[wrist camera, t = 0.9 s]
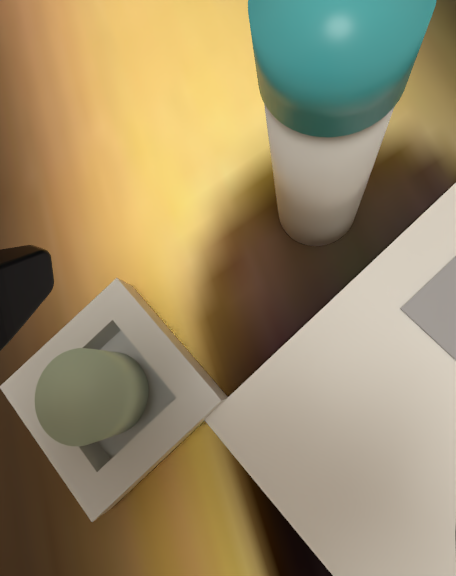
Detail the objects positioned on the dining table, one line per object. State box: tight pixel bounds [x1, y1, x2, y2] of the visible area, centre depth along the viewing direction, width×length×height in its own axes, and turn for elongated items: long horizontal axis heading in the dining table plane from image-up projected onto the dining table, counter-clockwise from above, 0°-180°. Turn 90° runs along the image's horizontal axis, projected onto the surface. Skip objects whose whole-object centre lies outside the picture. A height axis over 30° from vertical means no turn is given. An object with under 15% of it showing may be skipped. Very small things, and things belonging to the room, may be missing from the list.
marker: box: [248, 0, 436, 246], centre depth 16 cm, size 4×4×13 cm
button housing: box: [0, 278, 228, 522], centre depth 21 cm, size 8×8×2 cm
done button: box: [35, 348, 149, 446], centre depth 19 cm, size 4×4×3 cm
